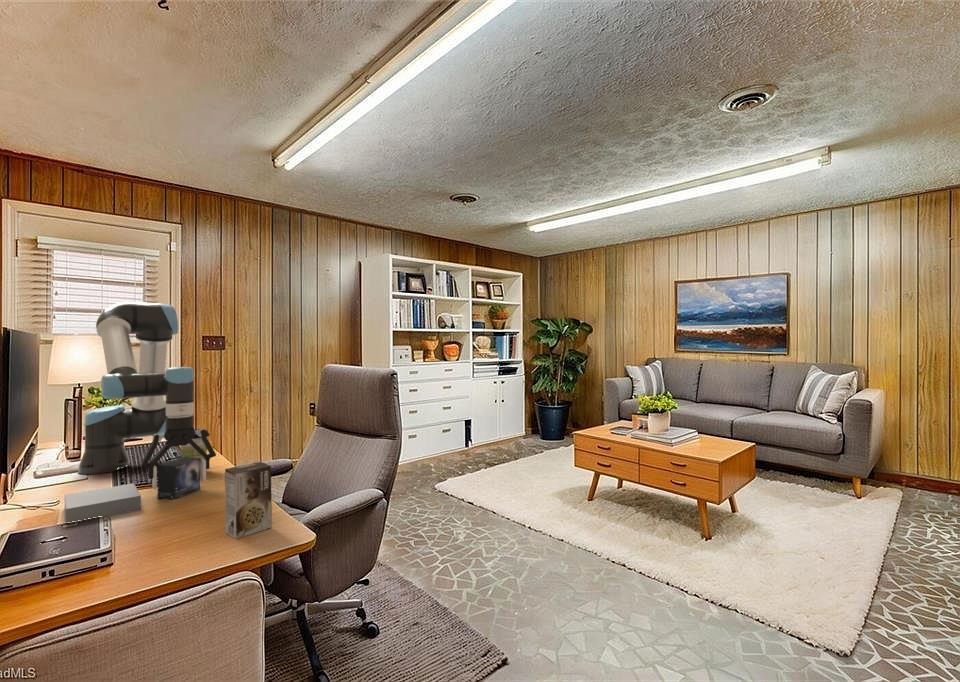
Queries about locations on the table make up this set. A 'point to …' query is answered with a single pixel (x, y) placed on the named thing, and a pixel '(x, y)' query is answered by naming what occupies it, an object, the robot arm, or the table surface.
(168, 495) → the small box
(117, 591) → the table surface
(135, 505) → the plinth
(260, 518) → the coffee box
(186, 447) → the coffee cup
